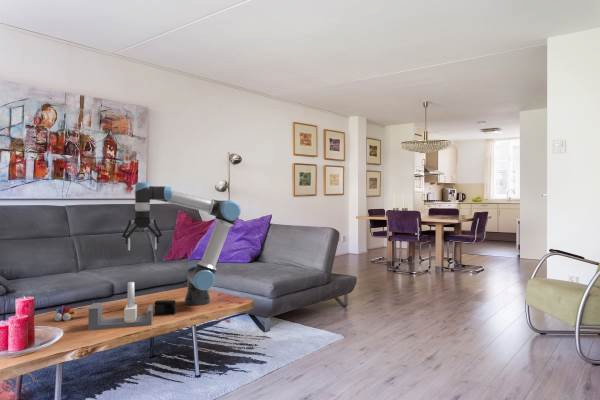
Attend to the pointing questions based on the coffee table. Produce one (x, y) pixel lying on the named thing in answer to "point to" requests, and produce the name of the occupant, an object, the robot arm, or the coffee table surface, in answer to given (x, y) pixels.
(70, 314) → the rainbow disc rattle
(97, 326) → the bench clamp
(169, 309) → the digital camera
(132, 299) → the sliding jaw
